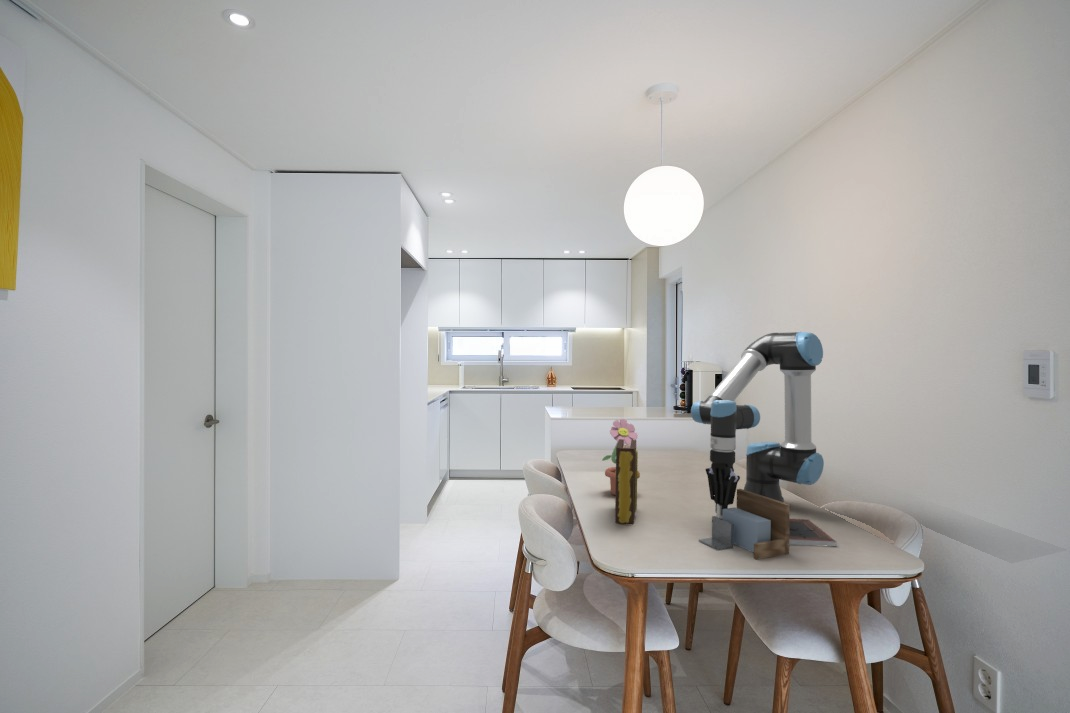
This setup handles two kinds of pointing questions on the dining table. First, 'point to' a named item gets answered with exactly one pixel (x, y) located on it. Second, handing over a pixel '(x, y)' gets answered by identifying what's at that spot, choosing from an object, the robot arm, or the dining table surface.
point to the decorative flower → (620, 432)
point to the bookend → (720, 534)
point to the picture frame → (807, 534)
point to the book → (626, 482)
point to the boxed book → (747, 527)
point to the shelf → (770, 511)
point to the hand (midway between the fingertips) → (721, 524)
